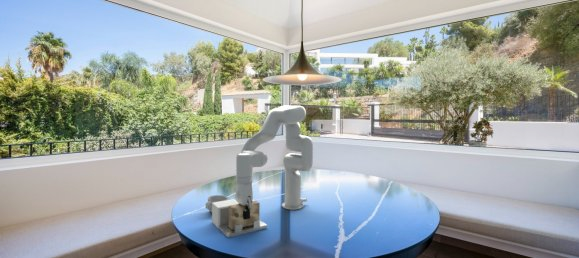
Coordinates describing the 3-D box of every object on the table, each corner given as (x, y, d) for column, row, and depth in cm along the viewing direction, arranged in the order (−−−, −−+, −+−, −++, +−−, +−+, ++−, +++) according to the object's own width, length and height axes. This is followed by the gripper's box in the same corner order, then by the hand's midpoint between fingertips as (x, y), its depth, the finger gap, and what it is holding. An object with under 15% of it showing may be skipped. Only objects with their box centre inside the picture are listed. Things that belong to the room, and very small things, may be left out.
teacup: (219, 207, 166) (219, 193, 165) (231, 211, 159) (231, 197, 158) (198, 213, 155) (198, 199, 154) (210, 218, 148) (210, 203, 148)
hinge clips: (255, 220, 147) (255, 211, 146) (267, 228, 137) (267, 218, 136) (218, 228, 136) (218, 219, 135) (227, 237, 126) (227, 227, 125)
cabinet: (248, 214, 154) (248, 196, 154) (255, 220, 147) (256, 201, 146) (212, 222, 143) (212, 202, 142) (218, 228, 136) (218, 207, 135)
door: (255, 220, 140) (255, 200, 140) (260, 224, 136) (260, 203, 135) (228, 226, 133) (228, 205, 132) (233, 230, 128) (233, 209, 128)
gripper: (230, 176, 138) (230, 213, 140) (244, 184, 124) (244, 225, 126) (244, 174, 143) (244, 210, 144) (259, 182, 129) (259, 221, 130)
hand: (244, 216), depth 135 cm, fingers closed on door, 4 cm apart
